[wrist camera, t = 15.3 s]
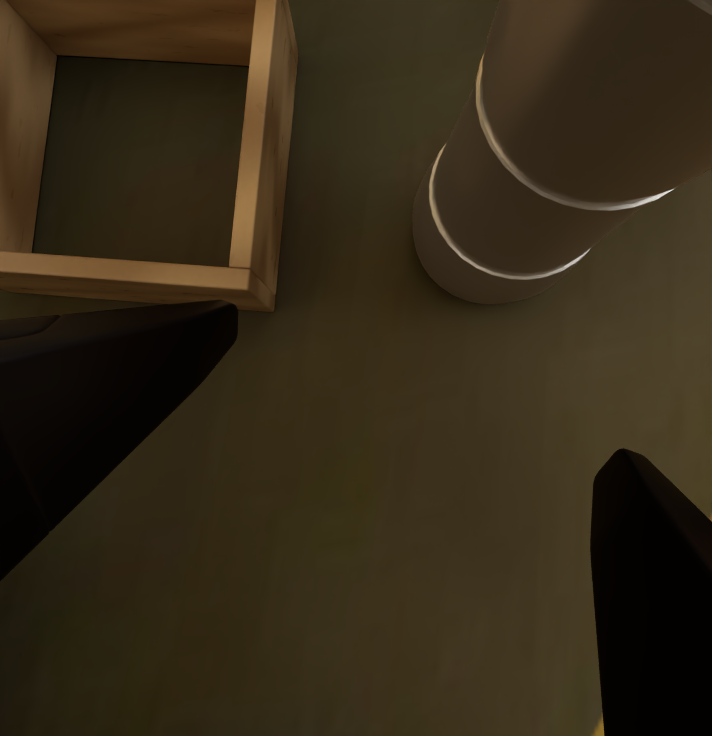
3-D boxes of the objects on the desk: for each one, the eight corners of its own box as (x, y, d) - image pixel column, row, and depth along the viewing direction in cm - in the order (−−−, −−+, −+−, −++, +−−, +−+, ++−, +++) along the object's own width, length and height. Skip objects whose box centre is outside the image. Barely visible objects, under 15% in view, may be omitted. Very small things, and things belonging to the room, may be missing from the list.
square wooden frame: (274, 312, 18) (247, 290, 14) (10, 292, 18) (-90, 264, 14) (298, 53, 18) (280, -40, 14) (44, 39, 19) (-43, -55, 15)
